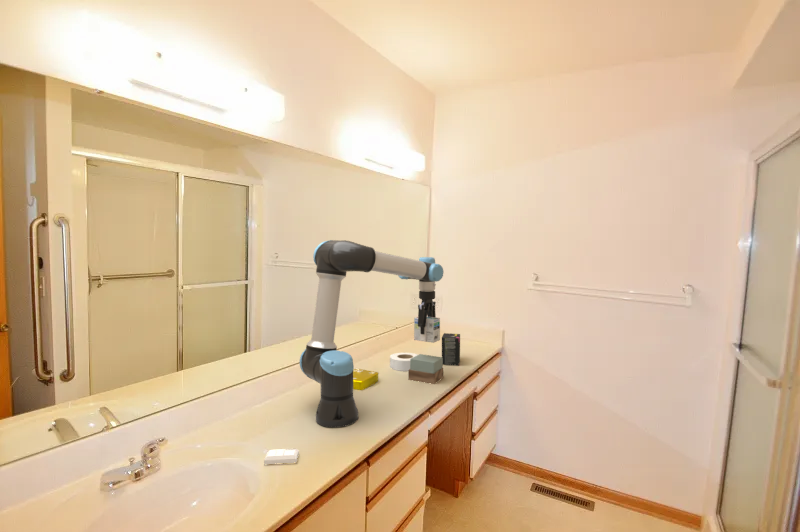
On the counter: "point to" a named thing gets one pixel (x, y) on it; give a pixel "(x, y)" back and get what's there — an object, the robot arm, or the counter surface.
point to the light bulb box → (428, 329)
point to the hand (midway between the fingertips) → (426, 339)
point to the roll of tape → (401, 361)
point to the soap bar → (281, 456)
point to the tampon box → (451, 349)
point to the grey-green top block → (426, 363)
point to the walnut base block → (425, 376)
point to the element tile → (363, 378)
